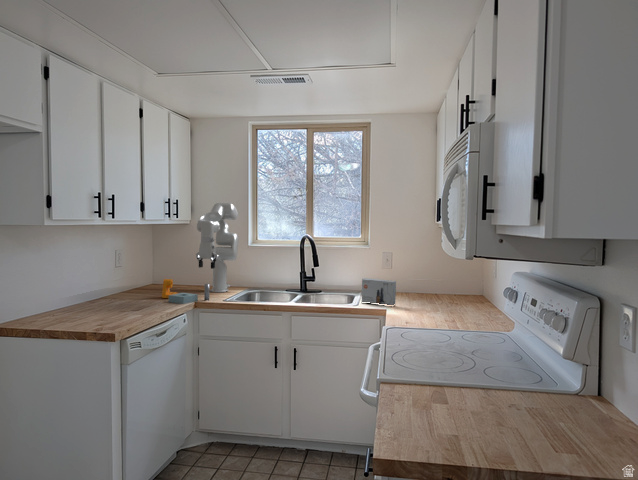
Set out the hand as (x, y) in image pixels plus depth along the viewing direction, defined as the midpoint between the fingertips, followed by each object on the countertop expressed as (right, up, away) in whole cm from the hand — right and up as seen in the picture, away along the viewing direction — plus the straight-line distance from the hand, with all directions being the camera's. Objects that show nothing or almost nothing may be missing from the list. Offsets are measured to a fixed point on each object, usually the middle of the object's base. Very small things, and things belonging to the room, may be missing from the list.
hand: (206, 267), depth 266 cm
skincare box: (+108, -24, +1) cm, 110 cm away
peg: (0, -20, +1) cm, 20 cm away
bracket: (-25, -20, +6) cm, 33 cm away
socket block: (-13, -20, -5) cm, 25 cm away
